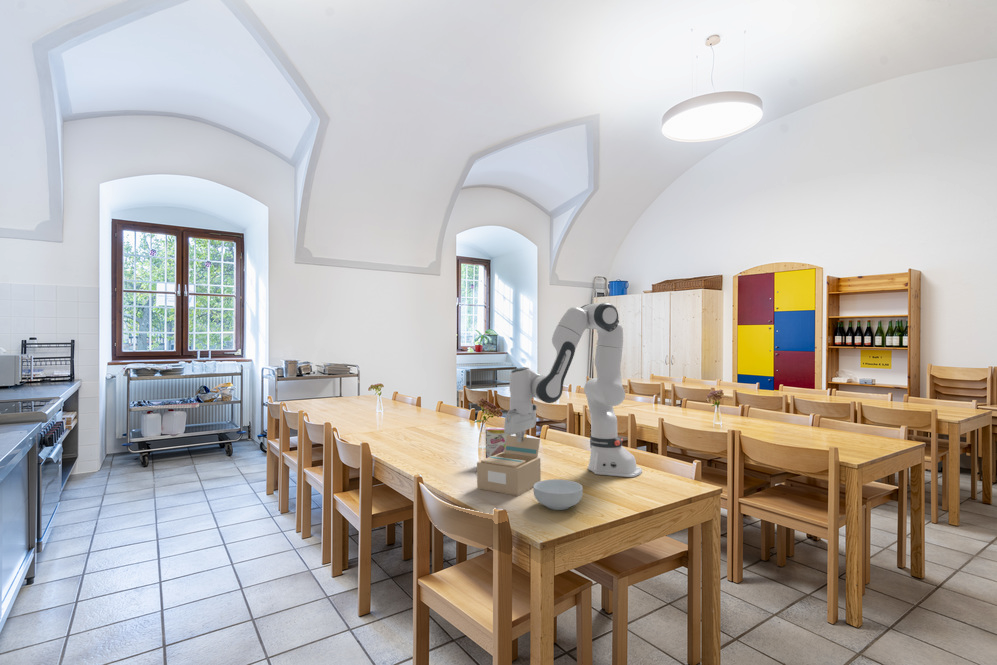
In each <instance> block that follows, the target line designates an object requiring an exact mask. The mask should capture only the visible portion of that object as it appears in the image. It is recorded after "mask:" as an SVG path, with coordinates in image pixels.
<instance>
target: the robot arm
mask: <svg viewBox="0 0 997 665" xmlns="http://www.w3.org/2000/svg"><path fill="white" fill-rule="evenodd" d="M586 329H591V330H596V333H597V340H596V346H595V347H596V348H595V354H594V366H595V370H596V377H594V378H591V379H589V380H587V381H586V382H585V384H584V387H583V390H584V391H583V392H584V394H585V396H586V398H587V404H588V409H589V414H590V428H591V429H590V430H591V431H590V434H591V435H590V436H589V438H590V440H589V445H590V456H589V462H588V466H587V469H588V470H589V471H590V472H592V473H594V475H601V476H602V475H603V476H613V477H622V478H623V477H624V478H625V477H626V478H634V477H635V478H636V477H638V476H640V475H641V473H642V472H643V471H642V467H640V466H637V462H636V457H635V456H634V455H633V453H631V452H630V451H629V450H628V449H626V447H624V446H623V440H624V438H620V437H619V436H618V418H617V417H618V416H617V415H616V413H615V410H614V407H616V406H619V405H620V404H622V403H623V402H624V400H625V397H626V390H625V388H624V387H623V386H624V385H623V381H622V373H621V372H622V371H621V364H622V356H623V348H624V328H623V326H622V325H621V324H620V321H619V312H618V309H617V307H616V306H614V305H613V304H611V303H608V302H595V303H590V304H584V305H582V306H581V307H577V306H573V307H569V308H568V310H567V311H566V312H565V313H564V314H563V316H562V317H561V318H560V320H559V322H558V323H557V326H556V327H555V330H554V332H553V334H552V337H551V343H552V345H553V347H554V349H555V351H556V355H555V356H556V357H555V359H554V362H553V363H552V366H551V368H550V370H549V373H548V374H547V375H546V376H545V375H543V374H542V375H541V374H539V373H537V372H536V371H534V370H531V369H530V367H518V368H515V369H513V370H512V371H511V373H510V377H509V393H510V396H509V410H508V412H507V414H506V415H505V418H504V425H503V426H504V427H503V428H504V432H505V434H510V435H511V436H514V435H515V436H516V437H517V442H519V443H520V442H523V441H524V437H525V435H526V431H527V430H529V429H534V428H535V426H536V424H537V410H538V408H537V407H538V406H537V404H534V403H532V399H533V398H535V399H538V400H540V401H542V402H543V403H547V404H553V403H555V402H557V401H559V399H560V398H561V396H562V395H563V389H564V382H565V379H566V376H567V374H568V371H569V370H570V367H571V364H572V361H573V359H574V356H575V354H576V348H577V347H578V344H579V342H580V340H581V338H582V336H583V335H584V332H585V331H586Z"/></svg>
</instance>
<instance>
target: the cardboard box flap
mask: <svg viewBox="0 0 997 665" xmlns="http://www.w3.org/2000/svg"><path fill="white" fill-rule="evenodd" d="M540 443H541V439H540V438H534V437H525V436H524V441H523V442H520V443H519V442H517V437H516V435H511V436H510V435H507V438H506V444H505V450H504V453H510V454H517V455H524V456H531V457H539V456H538V455H539V450H540V449H539V448H540Z"/></svg>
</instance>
